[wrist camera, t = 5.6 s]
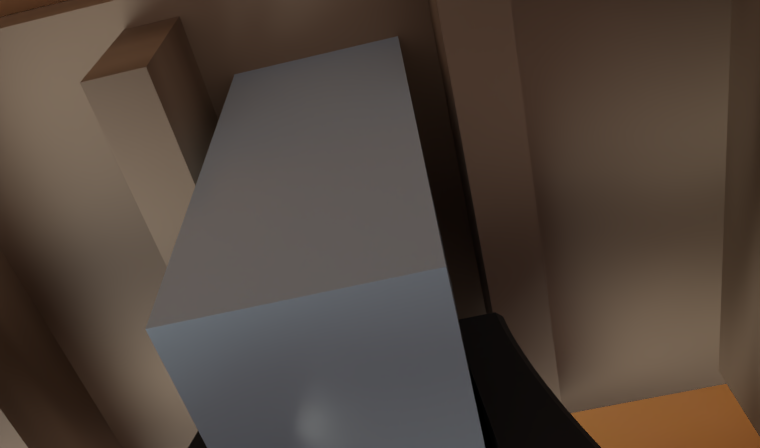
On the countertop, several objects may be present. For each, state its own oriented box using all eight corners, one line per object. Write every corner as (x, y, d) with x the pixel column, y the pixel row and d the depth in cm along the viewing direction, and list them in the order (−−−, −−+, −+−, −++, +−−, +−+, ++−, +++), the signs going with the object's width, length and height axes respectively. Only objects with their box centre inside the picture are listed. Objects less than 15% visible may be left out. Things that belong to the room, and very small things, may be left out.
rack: (768, 343, 18) (849, 454, 16) (98, 472, 20) (55, 595, 17) (812, -185, 12) (963, -169, 9) (-173, 60, 14) (-316, 141, 11)
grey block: (468, 363, 17) (536, 681, 11) (344, 387, 17) (345, 712, 11) (398, 36, 13) (446, 266, 7) (234, 74, 13) (145, 329, 7)
